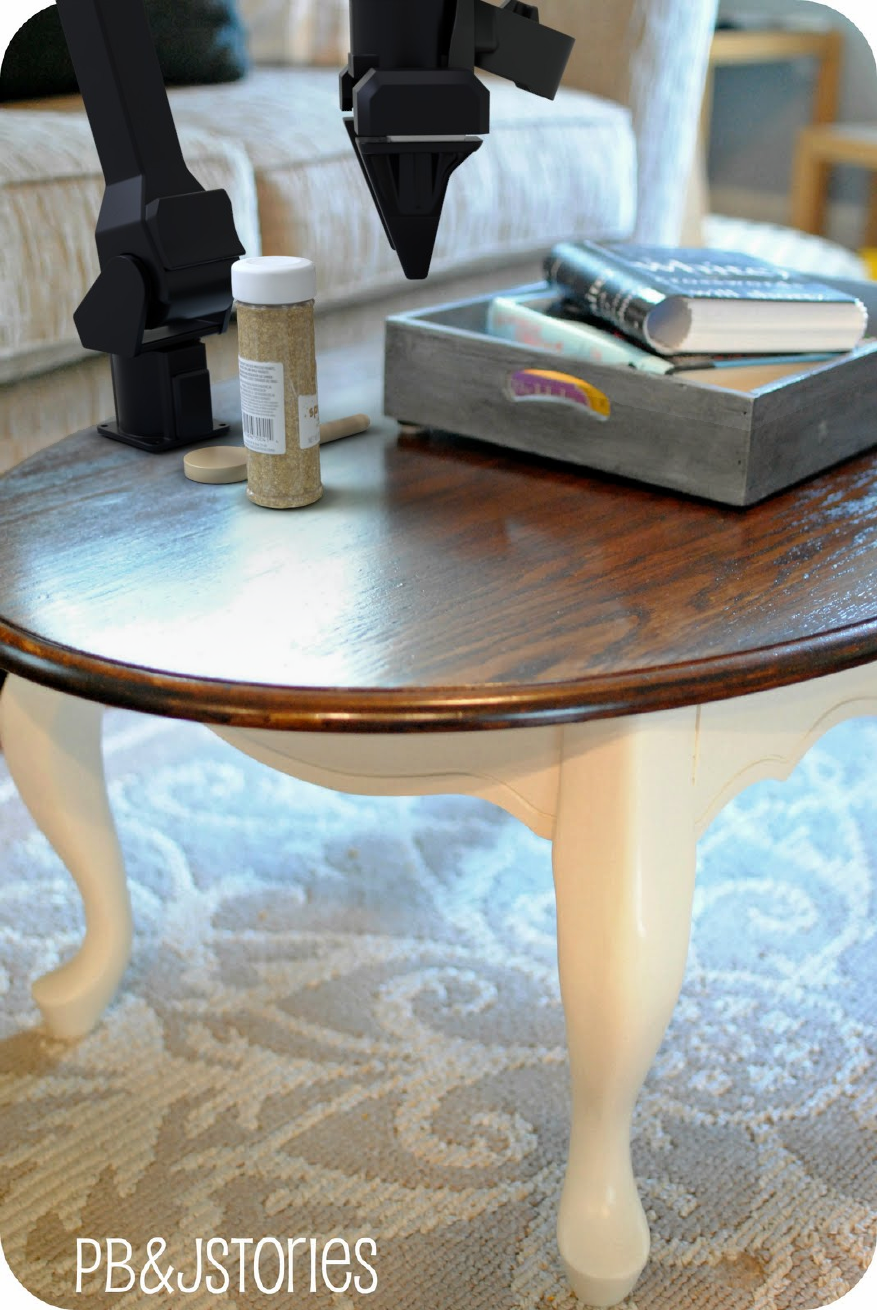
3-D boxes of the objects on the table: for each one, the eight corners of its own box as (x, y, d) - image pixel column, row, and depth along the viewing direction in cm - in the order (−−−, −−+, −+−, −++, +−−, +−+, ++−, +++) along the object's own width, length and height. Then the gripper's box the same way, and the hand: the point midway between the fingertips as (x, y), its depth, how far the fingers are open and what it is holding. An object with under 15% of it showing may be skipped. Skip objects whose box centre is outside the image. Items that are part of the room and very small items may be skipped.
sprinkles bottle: (337, 501, 79) (330, 262, 73) (267, 516, 76) (254, 271, 71) (300, 480, 82) (290, 250, 76) (231, 493, 80) (216, 258, 74)
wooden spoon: (215, 489, 81) (214, 469, 80) (170, 472, 83) (168, 453, 83) (391, 435, 91) (390, 418, 90) (345, 422, 93) (344, 405, 93)
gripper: (605, -66, 60) (589, 293, 67) (531, -52, 77) (524, 234, 84) (353, -67, 59) (362, 298, 66) (334, -52, 76) (343, 238, 83)
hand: (408, 263), depth 75 cm, fingers open, 9 cm apart
